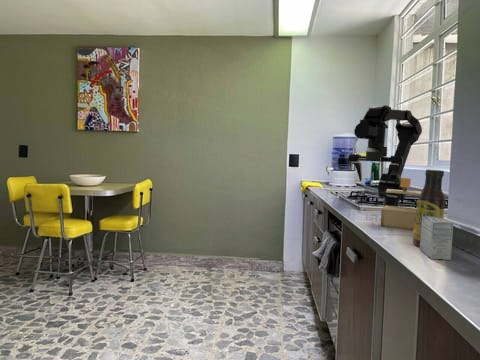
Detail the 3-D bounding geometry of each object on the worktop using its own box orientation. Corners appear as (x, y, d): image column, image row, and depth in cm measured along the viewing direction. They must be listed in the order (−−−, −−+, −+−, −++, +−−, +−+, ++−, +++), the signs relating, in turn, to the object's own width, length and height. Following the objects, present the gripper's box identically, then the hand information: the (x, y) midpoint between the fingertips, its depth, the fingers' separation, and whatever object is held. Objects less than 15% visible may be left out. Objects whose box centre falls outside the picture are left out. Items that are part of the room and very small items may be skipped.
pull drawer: (387, 190, 128) (388, 176, 128) (423, 193, 123) (424, 179, 122) (385, 192, 122) (386, 177, 121) (423, 195, 116) (424, 180, 116)
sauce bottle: (407, 243, 91) (413, 168, 90) (423, 242, 94) (429, 169, 92) (429, 250, 85) (436, 170, 84) (446, 248, 88) (453, 170, 86)
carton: (384, 218, 126) (385, 203, 126) (421, 223, 121) (422, 207, 120) (380, 226, 113) (381, 209, 113) (421, 231, 108) (423, 213, 107)
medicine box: (451, 261, 77) (454, 223, 77) (429, 259, 78) (432, 221, 78) (438, 251, 85) (441, 216, 84) (418, 249, 86) (421, 215, 85)
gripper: (346, 138, 125) (343, 181, 126) (403, 139, 117) (399, 185, 118) (351, 140, 135) (349, 179, 136) (404, 141, 127) (401, 183, 128)
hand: (373, 182), depth 129 cm, fingers open, 9 cm apart
